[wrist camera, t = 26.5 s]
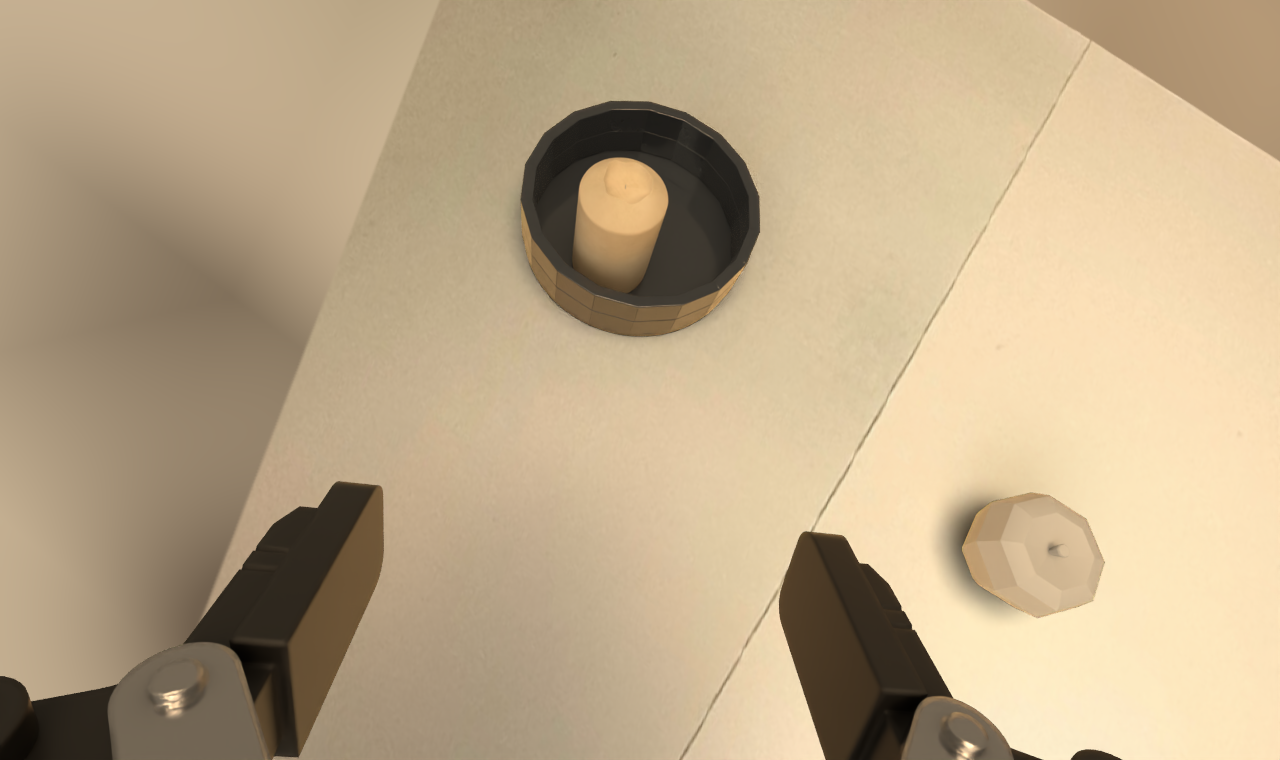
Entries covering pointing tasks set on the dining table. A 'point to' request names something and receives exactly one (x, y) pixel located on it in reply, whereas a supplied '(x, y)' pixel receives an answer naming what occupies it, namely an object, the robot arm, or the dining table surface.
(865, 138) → the dining table surface
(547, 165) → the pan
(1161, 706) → the dining table surface
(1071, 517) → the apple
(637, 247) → the candle
